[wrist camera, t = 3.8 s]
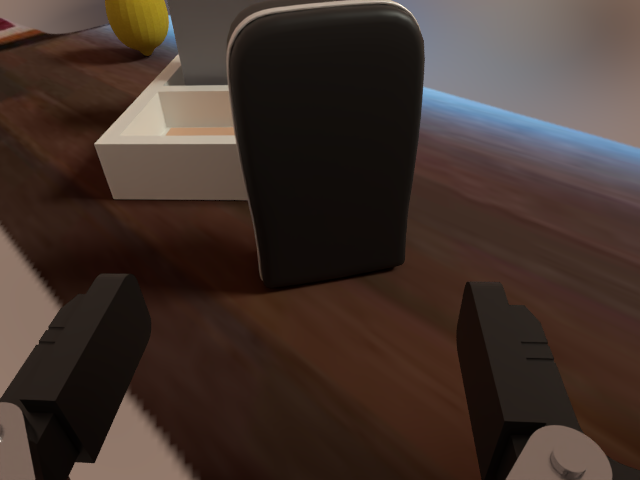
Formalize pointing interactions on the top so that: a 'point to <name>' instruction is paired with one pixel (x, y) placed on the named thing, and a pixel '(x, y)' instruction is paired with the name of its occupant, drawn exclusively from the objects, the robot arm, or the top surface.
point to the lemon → (138, 23)
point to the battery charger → (326, 132)
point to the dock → (181, 118)
